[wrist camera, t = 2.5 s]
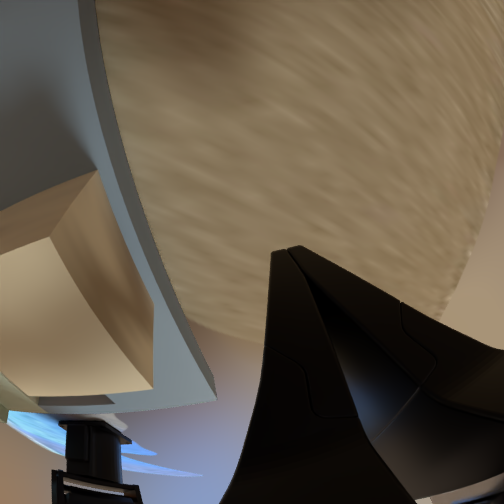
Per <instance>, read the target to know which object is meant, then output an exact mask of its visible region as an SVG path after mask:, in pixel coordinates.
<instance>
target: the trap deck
mask: <svg viewBox="0 0 504 504" xmlns="http://www.w3.org/2000/svg"><path fill="white" fill-rule="evenodd" d="M95 170H98V171H99V174H100V177H101V180H102V183H103V186H104V189H105V191H106V194H107V197H108V200H109V202H110V205H111V208H112V210H113V213H114V216H115V218H116V221H117V223H118V226H119V228H120V231H121V233H122V235H123V238H124V240H125V243H126V245H127V247H128V249H129V252H130V254H131V256H132V259H133V261H134V263H135V265H136V267H137V270H138V272H139V274H140V276H141V278H142V280H143V282H144V285H145V287H146V289H147V291H148V293H149V295H150V297H151V299H152V301H153V303H154V328H153V388H154V389H150V390H142V391H133V392H124V393H113V394H100V395H84V396H28V395H27V394H26V393H24V392H23V391H22V390H21V389H20V388H18V387H17V386H16V385H15V384H14V383H13V382H12V381H10V380H9V379H8V378H7V377H6V376H5V375H4V374H3V373H2V372H1V371H0V422H2V423H7V418H8V412H9V410H11V411H21V412H33V413H50V414H104V413H121V412H135V411H146V410H154V409H155V410H156V409H163V408H172V407H178V406H185V405H192V404H198V403H204V402H209V401H214V400H217V394H216V388H215V383H214V377H213V374H212V372H211V370H210V368H209V366H208V364H207V362H206V361H205V358H204V356H203V354H202V352H201V350H200V348H199V346H198V344H197V342H196V340H195V337H194V335H193V333H192V331H191V329H190V327H189V325H188V322H187V320H186V318H185V316H184V313H183V311H182V309H181V306H180V304H179V302H178V300H177V297H176V295H175V292H174V290H173V288H172V285H171V283H170V280H169V278H168V276H167V273H166V271H165V268H164V266H163V263H162V260H161V258H160V255H159V253H158V250H157V247H156V245H155V242H154V239H153V237H152V234H151V231H150V228H149V226H148V223H147V220H146V217H145V214H144V211H143V208H142V205H141V203H140V200H139V196H138V193H137V190H136V187H135V184H134V181H133V178H132V174H131V171H130V168H129V165H128V161H127V158H126V154H125V151H124V147H123V144H122V140H121V136H120V133H119V129H118V125H117V121H116V117H115V113H114V109H113V105H112V100H111V96H110V92H109V87H108V82H107V77H106V72H105V67H104V62H103V57H102V51H101V45H100V39H99V32H98V25H97V18H96V10H95V1H94V0H0V211H2V210H4V209H6V208H8V207H10V206H12V205H14V204H16V203H18V202H20V201H22V200H24V199H26V198H29V197H31V196H33V195H35V194H37V193H40V192H42V191H44V190H47V189H49V188H51V187H54V186H56V185H59V184H61V183H64V182H66V181H69V180H71V179H74V178H76V177H79V176H82V175H84V174H87V173H90V172H93V171H95Z"/></svg>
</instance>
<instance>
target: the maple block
mask: <svg viewBox="0 0 504 504" xmlns="http://www.w3.org/2000/svg"><path fill="white" fill-rule="evenodd" d="M153 328H154V303H153V301H152V299H151V297H150V295H149V293H148V291H147V289H146V287H145V285H144V282H143V280H142V278H141V276H140V274H139V272H138V270H137V267H136V265H135V263H134V261H133V259H132V256H131V254H130V252H129V249H128V247H127V245H126V243H125V240H124V238H123V235H122V233H121V231H120V228H119V226H118V223H117V221H116V218H115V216H114V213H113V210H112V208H111V205H110V202H109V200H108V197H107V194H106V191H105V189H104V186H103V183H102V180H101V177H100V174H99V171H98V170H95V171H93V172H90V173H87V174H84V175H82V176H79V177H76V178H74V179H71V180H69V181H66V182H64V183H61V184H59V185H56V186H54V187H51V188H49V189H47V190H44V191H42V192H40V193H37V194H35V195H33V196H31V197H29V198H26V199H24V200H22V201H20V202H18V203H16V204H14V205H12V206H10V207H8V208H6V209H4V210H2V211H0V371H1V372H2V373H3V374H4V375H5V376H6V377H7V378H8V379H9V380H10V381H12V382H13V383H14V384H15V385H16V386H17V387H18V388H20V389H21V390H22V391H23V392H24V393H26V394H27V395H28V396H84V395H100V394H113V393H124V392H133V391H142V390H150V389H154V388H153Z"/></svg>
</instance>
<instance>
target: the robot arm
mask: <svg viewBox="0 0 504 504" xmlns="http://www.w3.org/2000/svg"><path fill="white" fill-rule="evenodd" d="M58 426H60V427H61V428H63V429H64V430H66V431H67V432H66V449H65V458H66V459H67V472H63V470H52V504H143V502H142V498H141V494H140V489H139V486H138V485H128V484H123V481H122V466H121V444H132V440H131V439H129V438H127V437H126V436H124V435H123V434H121V433H120V432H118V431H117V430H115V429H114V428H112V427H111V426H109V425H108V424H106V423H104V422H64V421H59V422H58ZM63 481H66V482H70V483H74V484H78V485H82V486H87V487H92V488H97V489H103V490H108V491H114V492H121V493H124V496H122V495H115V494H109V493H102V492H97V491H92V490H87V489H82V488H78V487H74V486H68V485H64V484H63ZM64 493H66V494H64ZM426 497H430V499H431V501H432V503H433V504H504V350H501V349H496V348H493V347H490V346H488V345H485V344H483V343H481V342H479V341H477V340H475V339H473V338H471V337H469V336H467V335H464V334H462V333H460V332H458V331H456V330H454V329H452V328H450V327H448V326H446V325H444V324H442V323H440V322H438V321H436V320H434V319H432V318H430V317H428V316H426V315H425V314H423V313H421V312H419V311H417V310H416V309H414V308H412V307H410V306H409V305H407V304H405V303H404V302H401V303H400V300H398V299H396V298H395V297H393V296H391V295H390V294H388V293H386V292H384V291H383V290H381V289H379V288H377V287H376V286H374V285H372V284H370V283H369V282H367V281H365V280H363V279H361V278H360V277H358V276H356V275H354V274H353V273H351V272H349V271H347V270H345V269H344V268H342V267H340V266H338V265H336V264H335V263H333V262H331V261H329V260H327V259H326V258H324V257H322V256H320V255H318V254H316V253H315V252H313V251H311V250H309V249H307V248H305V247H303V246H301V245H298V246H294V247H290V248H287V250H286V249H281V250H277V251H273V252H272V253H271V261H270V276H269V290H268V303H267V316H266V329H265V341H264V352H263V363H262V370H261V378H260V384H259V388H258V393H257V397H256V402H255V406H254V409H253V413H252V417H251V420H250V424H249V428H248V431H247V435H246V439H245V442H244V446H243V449H242V453H241V456H240V459H239V462H238V465H237V467H236V470H235V473H234V475H233V478H232V480H231V482H230V484H229V486H228V488H227V490H226V492H225V494H224V495H223V497H222V499H221V501H220V503H219V504H417V503H416V502H415V500H417V499H422V498H426Z"/></svg>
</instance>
